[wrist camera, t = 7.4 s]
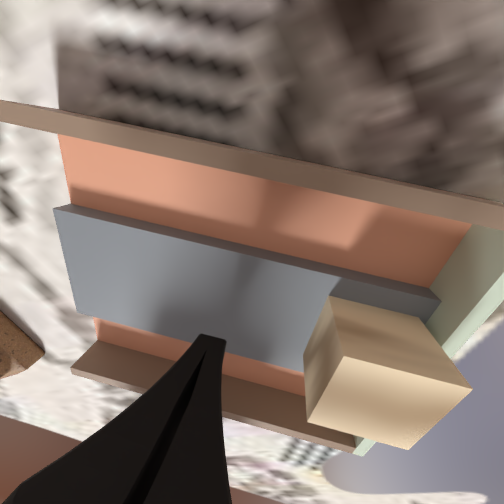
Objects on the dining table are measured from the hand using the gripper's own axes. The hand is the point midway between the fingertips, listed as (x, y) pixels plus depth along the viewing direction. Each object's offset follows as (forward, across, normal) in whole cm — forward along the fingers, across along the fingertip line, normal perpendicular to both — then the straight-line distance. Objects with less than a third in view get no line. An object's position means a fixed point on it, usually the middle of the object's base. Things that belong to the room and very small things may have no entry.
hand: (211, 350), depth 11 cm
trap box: (+5, 0, 0) cm, 5 cm away
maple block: (+3, -8, 0) cm, 9 cm away
